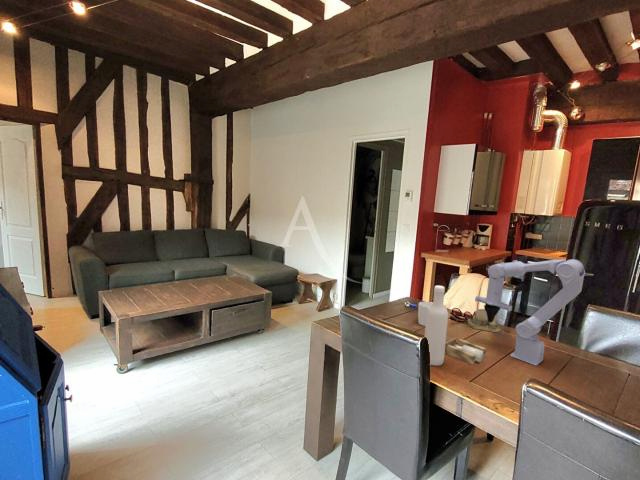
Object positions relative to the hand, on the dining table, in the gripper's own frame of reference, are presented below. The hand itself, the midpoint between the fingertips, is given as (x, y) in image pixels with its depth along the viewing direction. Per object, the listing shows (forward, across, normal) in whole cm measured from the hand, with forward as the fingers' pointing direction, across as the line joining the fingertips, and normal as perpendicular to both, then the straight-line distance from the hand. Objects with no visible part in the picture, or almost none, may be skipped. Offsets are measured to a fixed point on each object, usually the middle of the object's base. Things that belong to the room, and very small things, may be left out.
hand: (490, 321), depth 143 cm
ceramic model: (+11, -9, +17) cm, 23 cm away
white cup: (+11, -29, -3) cm, 31 cm away
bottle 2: (+8, +6, -18) cm, 21 cm away
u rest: (+10, -2, -18) cm, 21 cm away
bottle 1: (+11, -6, -33) cm, 35 cm away
